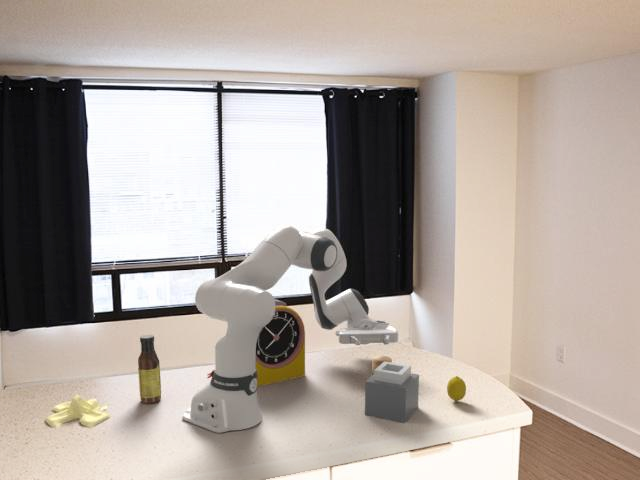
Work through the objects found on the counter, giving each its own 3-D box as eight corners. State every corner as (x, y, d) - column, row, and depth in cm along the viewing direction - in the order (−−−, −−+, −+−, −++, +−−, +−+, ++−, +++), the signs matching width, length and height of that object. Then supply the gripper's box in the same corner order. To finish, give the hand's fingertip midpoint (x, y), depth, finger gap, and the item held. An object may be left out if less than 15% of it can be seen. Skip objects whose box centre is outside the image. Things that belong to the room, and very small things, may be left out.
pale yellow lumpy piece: (109, 428, 168) (108, 406, 167) (36, 434, 165) (35, 412, 164) (119, 396, 190) (118, 377, 189) (55, 401, 186) (53, 382, 185)
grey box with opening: (364, 414, 176) (365, 371, 174) (379, 400, 186) (380, 358, 184) (405, 423, 170) (406, 378, 169) (418, 407, 181) (419, 364, 179)
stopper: (368, 395, 190) (369, 360, 188) (375, 388, 195) (376, 354, 194) (386, 398, 187) (387, 363, 186) (393, 392, 192) (394, 357, 191)
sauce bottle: (165, 400, 186) (163, 336, 183) (147, 406, 181) (144, 341, 179) (153, 394, 190) (151, 332, 188) (135, 400, 186) (132, 336, 183)
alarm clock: (249, 388, 196) (248, 307, 192) (237, 379, 203) (236, 301, 200) (306, 375, 207) (305, 298, 203) (292, 367, 215) (291, 293, 211)
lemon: (465, 406, 182) (466, 380, 181) (446, 404, 183) (447, 378, 182) (465, 399, 187) (466, 373, 186) (446, 397, 188) (447, 372, 187)
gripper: (334, 322, 213) (341, 333, 199) (392, 321, 216) (402, 332, 202) (334, 340, 214) (341, 352, 200) (391, 339, 216) (402, 351, 203)
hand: (372, 342), depth 201 cm, fingers open, 8 cm apart
